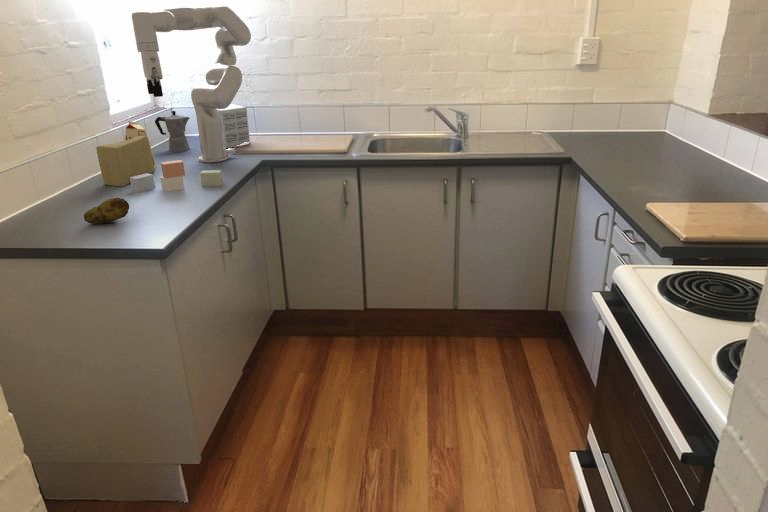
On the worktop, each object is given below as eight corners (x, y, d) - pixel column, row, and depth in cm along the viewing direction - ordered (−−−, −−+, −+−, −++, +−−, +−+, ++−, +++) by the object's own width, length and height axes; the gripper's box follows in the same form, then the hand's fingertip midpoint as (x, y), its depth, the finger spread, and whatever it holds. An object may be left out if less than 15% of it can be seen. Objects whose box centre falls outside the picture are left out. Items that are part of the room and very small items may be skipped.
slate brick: (149, 186, 212) (147, 173, 210) (155, 188, 210) (153, 174, 208) (132, 190, 207) (129, 177, 205) (137, 192, 205) (135, 179, 203)
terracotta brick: (182, 173, 209) (180, 159, 207) (185, 175, 206) (183, 161, 204) (162, 175, 206) (160, 162, 204) (165, 178, 203) (162, 164, 201)
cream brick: (181, 186, 211) (179, 173, 209) (184, 188, 208) (182, 175, 206) (162, 189, 208) (160, 176, 206) (164, 192, 205) (162, 178, 203)
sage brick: (223, 183, 215) (221, 170, 213) (220, 185, 212) (219, 172, 210) (204, 183, 215) (202, 170, 213) (201, 186, 211) (200, 173, 209)
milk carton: (145, 172, 230) (136, 122, 222) (124, 171, 232) (115, 121, 224) (157, 166, 238) (149, 118, 230) (138, 166, 240) (129, 117, 232)
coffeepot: (194, 147, 273) (189, 108, 266) (193, 151, 264) (187, 111, 257) (161, 148, 270) (154, 110, 262) (158, 153, 261) (151, 113, 254)
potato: (100, 217, 180) (94, 193, 176) (136, 220, 177) (131, 195, 174) (82, 226, 172) (76, 201, 169) (119, 229, 170) (114, 203, 166)
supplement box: (209, 143, 280) (204, 105, 273) (233, 139, 288) (229, 103, 281) (226, 149, 268) (221, 109, 261) (251, 144, 277) (247, 106, 269)
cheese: (143, 170, 233) (137, 133, 227) (163, 172, 230) (157, 135, 224) (102, 185, 214) (94, 145, 208) (123, 187, 211) (115, 147, 205)
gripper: (163, 48, 206) (171, 96, 212) (153, 46, 219) (160, 92, 226) (141, 49, 202) (150, 98, 209) (132, 46, 216) (140, 93, 222)
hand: (155, 95), depth 217 cm, fingers open, 9 cm apart
